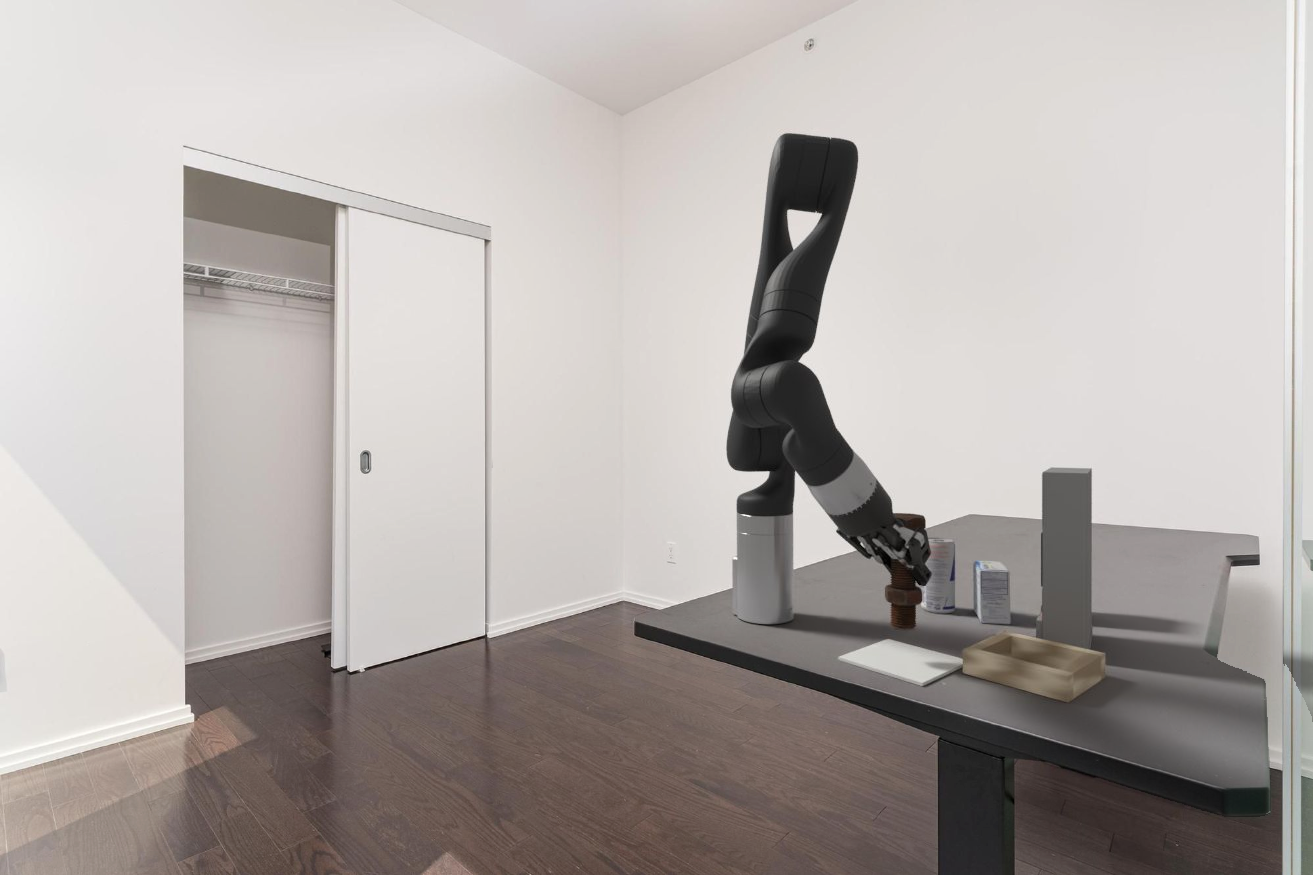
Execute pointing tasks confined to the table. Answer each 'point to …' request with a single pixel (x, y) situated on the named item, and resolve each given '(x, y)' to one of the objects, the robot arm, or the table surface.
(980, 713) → the table surface
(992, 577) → the medicine box
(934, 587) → the energy drink
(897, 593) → the bolt
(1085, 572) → the cassette tape recorder
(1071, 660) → the wooden frame
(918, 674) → the pad
